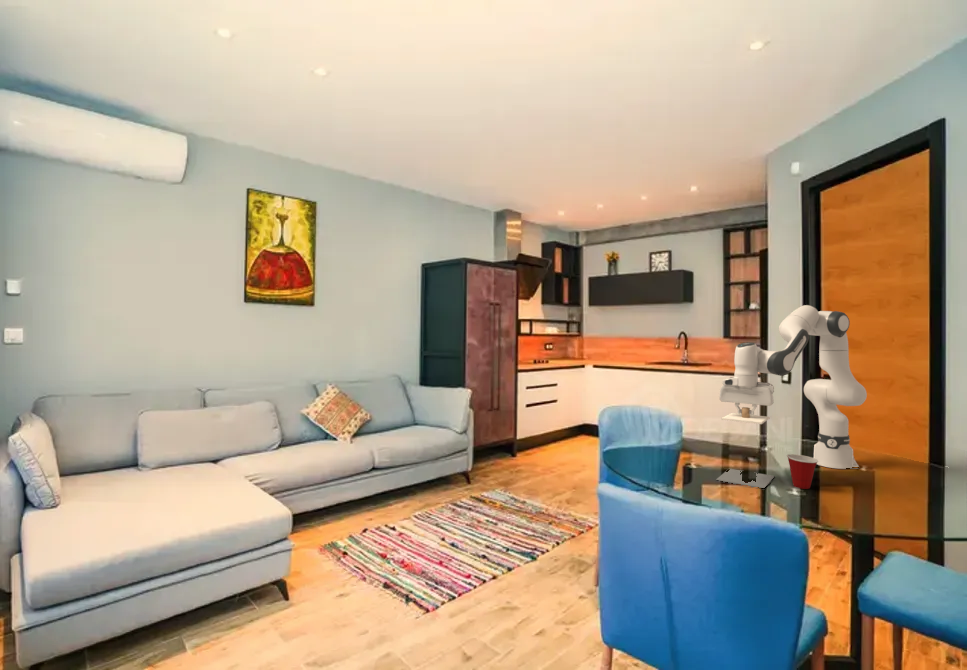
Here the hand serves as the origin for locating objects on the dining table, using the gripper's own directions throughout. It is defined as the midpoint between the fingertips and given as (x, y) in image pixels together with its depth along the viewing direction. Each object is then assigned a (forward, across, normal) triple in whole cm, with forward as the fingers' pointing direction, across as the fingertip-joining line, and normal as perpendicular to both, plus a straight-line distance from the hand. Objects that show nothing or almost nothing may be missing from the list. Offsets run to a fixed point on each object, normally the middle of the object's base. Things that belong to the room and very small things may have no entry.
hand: (745, 414), depth 216 cm
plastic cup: (+28, -20, -3) cm, 34 cm away
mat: (+28, 0, 0) cm, 28 cm away
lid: (+2, 0, 0) cm, 2 cm away
